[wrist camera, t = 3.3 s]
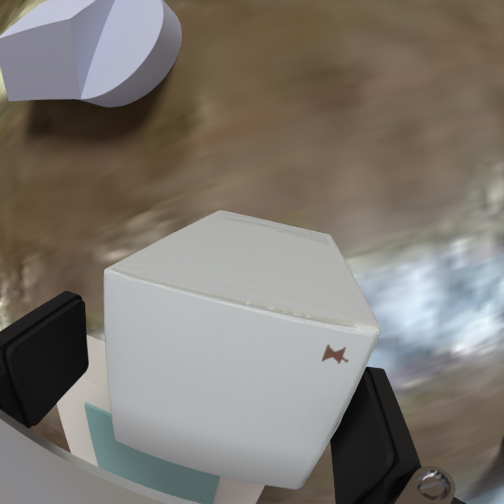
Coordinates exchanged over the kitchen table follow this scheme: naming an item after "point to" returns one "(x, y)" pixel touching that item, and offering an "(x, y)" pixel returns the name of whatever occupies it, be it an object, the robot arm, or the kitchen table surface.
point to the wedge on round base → (90, 51)
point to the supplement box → (235, 347)
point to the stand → (129, 459)
